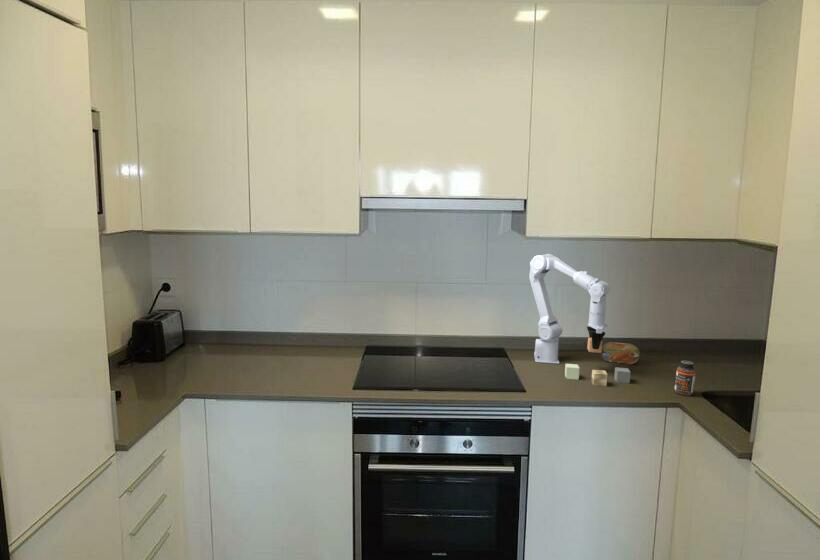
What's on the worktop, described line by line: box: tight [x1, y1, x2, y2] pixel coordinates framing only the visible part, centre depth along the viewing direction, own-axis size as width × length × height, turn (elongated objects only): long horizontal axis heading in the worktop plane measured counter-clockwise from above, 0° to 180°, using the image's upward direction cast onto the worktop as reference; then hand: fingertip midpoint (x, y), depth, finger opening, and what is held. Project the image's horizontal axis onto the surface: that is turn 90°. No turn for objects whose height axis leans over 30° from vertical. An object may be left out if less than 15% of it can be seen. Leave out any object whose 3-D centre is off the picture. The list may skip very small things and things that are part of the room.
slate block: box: [613, 366, 631, 384], centre depth 197 cm, size 4×4×4 cm
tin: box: [600, 341, 641, 365], centre depth 219 cm, size 15×3×8 cm, turn 72°
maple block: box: [590, 369, 608, 387], centre depth 193 cm, size 4×4×4 cm
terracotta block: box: [586, 337, 603, 354], centre depth 205 cm, size 4×4×4 cm
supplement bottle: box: [674, 360, 697, 397], centre depth 185 cm, size 6×6×11 cm
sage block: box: [564, 363, 580, 381], centre depth 199 cm, size 4×4×4 cm
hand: (594, 347), depth 206 cm, fingers closed on terracotta block, 4 cm apart
